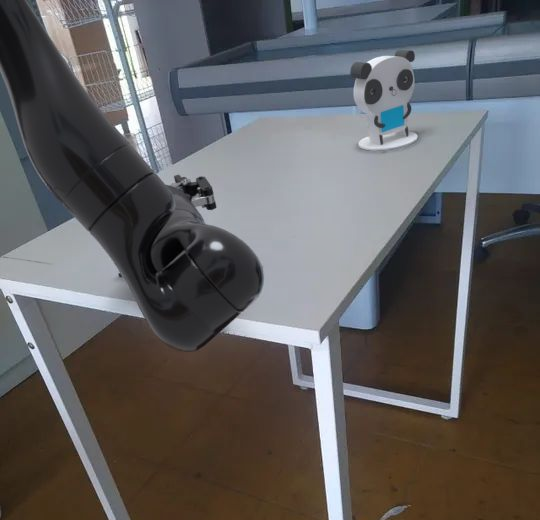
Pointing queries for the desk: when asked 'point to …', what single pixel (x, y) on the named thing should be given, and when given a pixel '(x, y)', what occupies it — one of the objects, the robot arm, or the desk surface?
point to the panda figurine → (385, 99)
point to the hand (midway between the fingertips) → (146, 191)
